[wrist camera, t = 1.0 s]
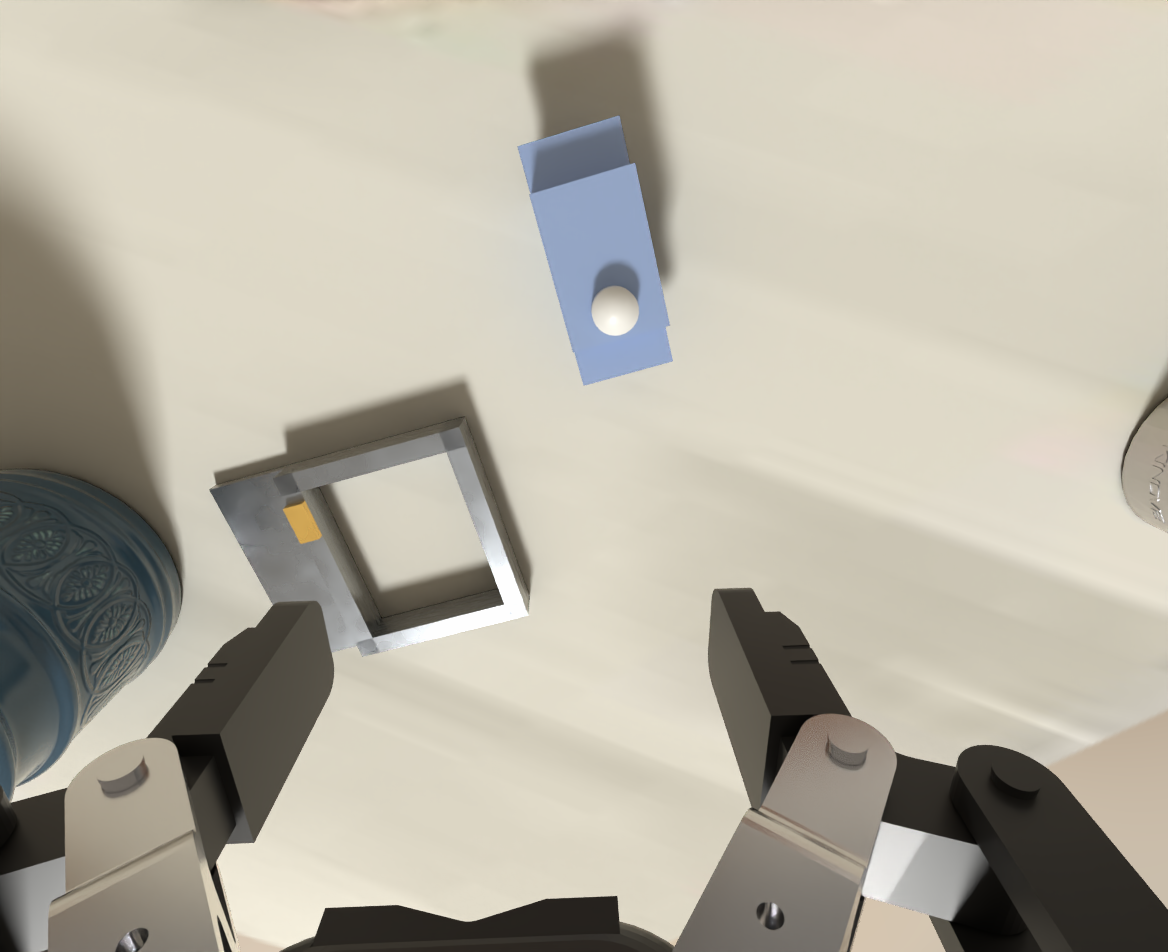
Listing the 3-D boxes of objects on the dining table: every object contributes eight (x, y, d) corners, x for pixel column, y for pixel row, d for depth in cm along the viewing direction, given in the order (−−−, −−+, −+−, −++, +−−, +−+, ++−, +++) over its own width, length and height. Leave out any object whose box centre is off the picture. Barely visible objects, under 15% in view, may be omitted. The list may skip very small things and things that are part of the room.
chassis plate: (464, 416, 30) (457, 429, 28) (529, 596, 34) (527, 619, 32) (215, 485, 31) (191, 502, 29) (307, 652, 35) (291, 678, 33)
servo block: (612, 129, 26) (625, 102, 21) (660, 347, 30) (682, 372, 24) (522, 156, 26) (512, 137, 21) (581, 369, 30) (585, 399, 24)
